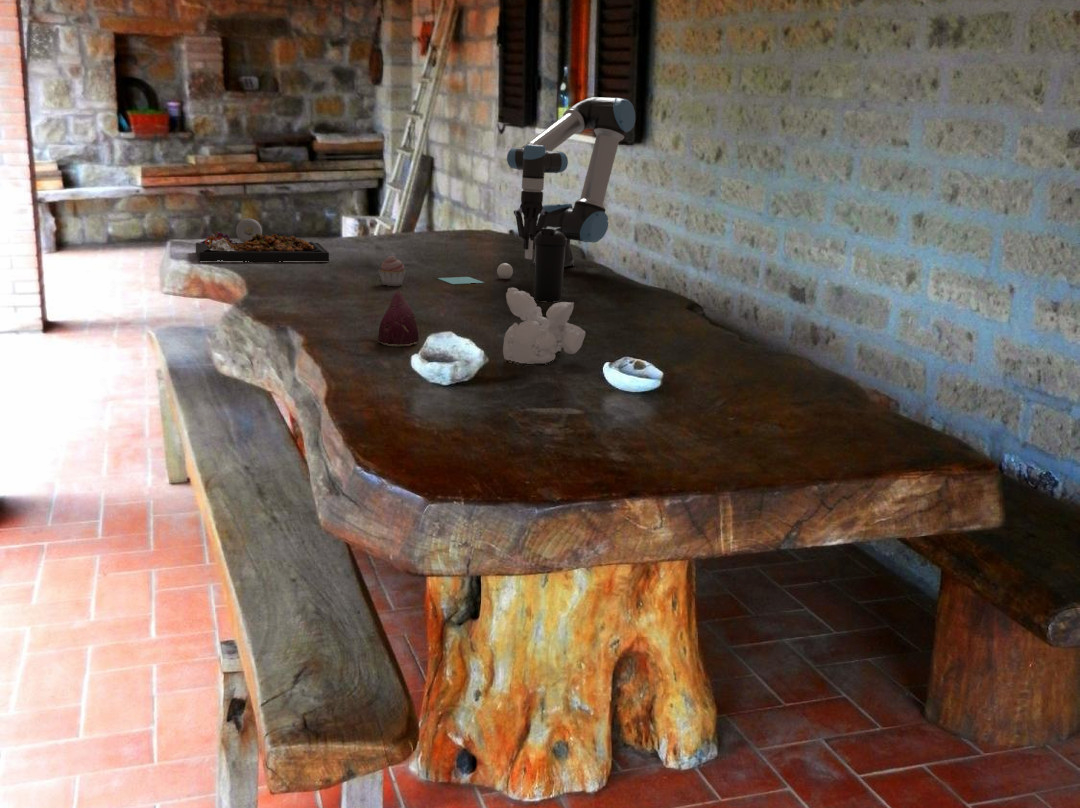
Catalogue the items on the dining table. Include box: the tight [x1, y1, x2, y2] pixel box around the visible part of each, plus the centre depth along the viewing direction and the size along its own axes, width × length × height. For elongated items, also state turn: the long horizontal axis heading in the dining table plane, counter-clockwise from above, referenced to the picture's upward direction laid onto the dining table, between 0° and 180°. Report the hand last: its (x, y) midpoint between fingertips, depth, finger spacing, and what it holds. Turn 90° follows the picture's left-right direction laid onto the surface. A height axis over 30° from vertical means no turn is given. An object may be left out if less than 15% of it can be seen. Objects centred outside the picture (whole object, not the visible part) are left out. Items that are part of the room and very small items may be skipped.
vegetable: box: [377, 289, 420, 345], centre depth 293 cm, size 10×10×15 cm
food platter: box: [195, 227, 330, 262], centre depth 418 cm, size 45×25×10 cm, turn 109°
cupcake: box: [378, 254, 407, 287], centre depth 375 cm, size 9×9×10 cm
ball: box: [496, 262, 514, 280], centre depth 398 cm, size 6×6×6 cm
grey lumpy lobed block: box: [502, 286, 586, 364], centre depth 283 cm, size 19×20×20 cm
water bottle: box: [533, 227, 567, 302], centre depth 360 cm, size 10×10×23 cm
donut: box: [235, 218, 263, 243], centre depth 449 cm, size 10×4×10 cm, turn 104°
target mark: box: [436, 276, 485, 286], centre depth 390 cm, size 12×12×1 cm
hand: (528, 258), depth 401 cm, fingers closed
